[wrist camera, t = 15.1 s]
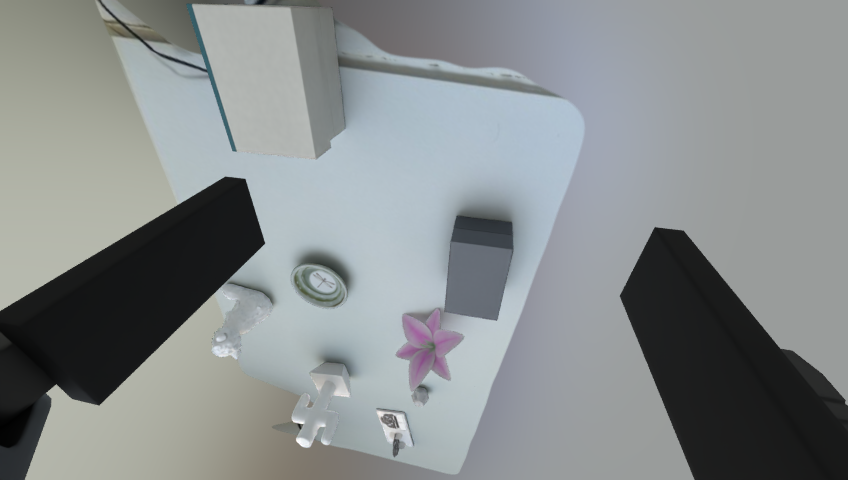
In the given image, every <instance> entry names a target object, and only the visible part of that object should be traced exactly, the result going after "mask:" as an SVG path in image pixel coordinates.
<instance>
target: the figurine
mask: <svg viewBox="0 0 848 480" xmlns="http://www.w3.org/2000/svg"><path fill="white" fill-rule="evenodd" d="M309 374H310V376H311V378H312V380H313V382H314V384H315V386H316V388H317V389H318V391H319V394H318V396H317V398H316V400H315V402H314V404H313V406H312V407H311V408H306V407H307V405H308V403H309V401H310V396H309V394H307V393H303V394H302V395H301V397H300V399H299V401H298V403H297V405H296V407H295V409H294V411H293V413H292V420H293V422H295V423H301V424H304V425H303V427H302V429H301V430H300V432H299V434H298V436H297V438H296V441H297V442H298V443H299V444H300V445H301V446H302V447H305V448H309V447H310V446H311V444H312V442H313V440H314V438H315V436H316V435H317V430H318V428H319V427H325V430H324V432H323V435H322V437H321V441H322V443H323V444H324V445H328V444H330V442H331V440H332V438H333V435H334V433H335V430H336V428H337V425H338V422H339V414H338V413H337V412H336V411H329V410H327V407H328V405H329V403H330V401H331V398H332V396H333V395H336V396H344V397H351V390H350V377H349V374H348V372H347V370H346V367H345V365H344V364H340V363H329V362H325V363H323V364H322V365H320V366H318V367H317V368H315V369H314V370H312V371H310V372H309Z"/></svg>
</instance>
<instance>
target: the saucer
mask: <svg viewBox="0 0 848 480" xmlns="http://www.w3.org/2000/svg"><path fill="white" fill-rule="evenodd" d="M291 283H292V286H293V288H294V290H295V291H296V293H297V294H298V295H299V296H300V297H301V298H302V299H304V300H305V301H306V302H308V303H310V304H312V305H314V306H317V307H320V308H325V309H333V308H337V307H340V306H341V305H343V304H344V303H345V302H346V300H347V297H348V289H347V286H346V284H345V282H344V281H343V279H342V278H341V277H340V276H339V275H338V274H337V273H336V272H335V271H333V270H332V269H330V268H328V267H326V266H323V265H319V264H313V263H306V264H302V265H299V266H297V267H296V268H295V269H294V270H293V272H292V274H291Z"/></svg>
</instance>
